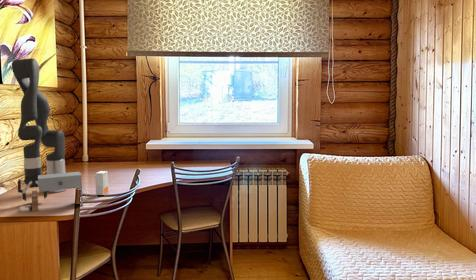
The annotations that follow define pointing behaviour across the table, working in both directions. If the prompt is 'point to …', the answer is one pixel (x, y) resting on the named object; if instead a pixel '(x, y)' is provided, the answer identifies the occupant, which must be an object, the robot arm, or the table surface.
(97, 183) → the skincare box
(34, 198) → the copper bar
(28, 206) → the silver rounded piece
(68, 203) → the table surface
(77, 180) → the low cabinet
